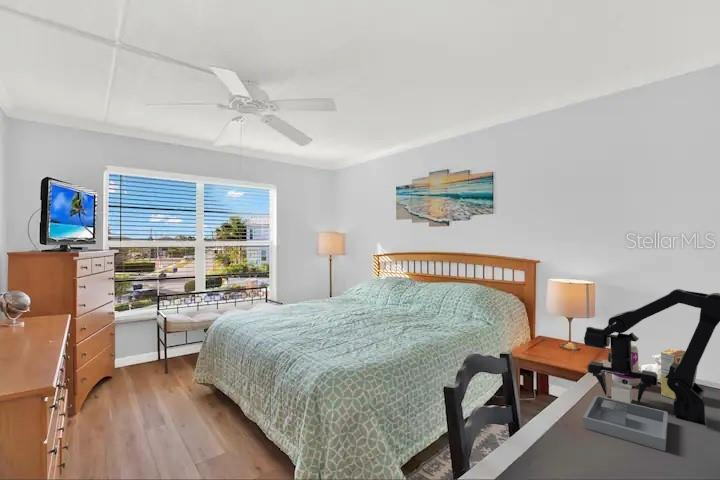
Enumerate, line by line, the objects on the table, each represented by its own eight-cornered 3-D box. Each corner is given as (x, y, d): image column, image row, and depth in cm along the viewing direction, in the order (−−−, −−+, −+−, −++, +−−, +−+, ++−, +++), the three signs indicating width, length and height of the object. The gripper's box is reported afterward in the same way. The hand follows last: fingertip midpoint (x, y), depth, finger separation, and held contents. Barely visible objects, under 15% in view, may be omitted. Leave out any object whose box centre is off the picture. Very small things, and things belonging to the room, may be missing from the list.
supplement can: (643, 388, 131) (642, 347, 132) (618, 386, 133) (617, 346, 133) (631, 380, 139) (630, 341, 140) (608, 378, 141) (607, 340, 141)
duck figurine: (681, 392, 133) (685, 364, 137) (676, 383, 129) (681, 355, 134) (641, 382, 143) (647, 356, 147) (636, 374, 139) (641, 348, 143)
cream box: (632, 400, 121) (631, 385, 121) (630, 406, 117) (629, 391, 117) (614, 396, 125) (613, 382, 125) (611, 402, 120) (611, 387, 120)
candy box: (672, 390, 129) (671, 347, 130) (687, 394, 126) (685, 350, 126) (660, 395, 125) (659, 351, 125) (676, 399, 121) (674, 354, 122)
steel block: (627, 418, 108) (627, 405, 108) (625, 426, 103) (625, 412, 103) (604, 412, 112) (603, 399, 112) (600, 419, 107) (600, 406, 107)
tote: (667, 423, 105) (667, 411, 105) (665, 453, 90) (665, 439, 90) (595, 405, 117) (595, 395, 117) (583, 429, 102) (582, 417, 103)
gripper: (657, 351, 121) (658, 398, 120) (592, 342, 133) (593, 384, 133) (656, 359, 112) (657, 409, 112) (586, 348, 125) (587, 393, 125)
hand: (621, 398), depth 121 cm, fingers open, 9 cm apart
